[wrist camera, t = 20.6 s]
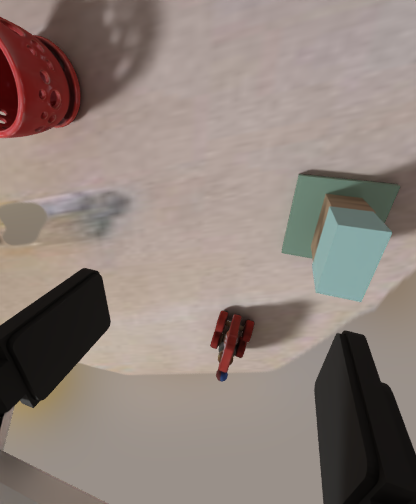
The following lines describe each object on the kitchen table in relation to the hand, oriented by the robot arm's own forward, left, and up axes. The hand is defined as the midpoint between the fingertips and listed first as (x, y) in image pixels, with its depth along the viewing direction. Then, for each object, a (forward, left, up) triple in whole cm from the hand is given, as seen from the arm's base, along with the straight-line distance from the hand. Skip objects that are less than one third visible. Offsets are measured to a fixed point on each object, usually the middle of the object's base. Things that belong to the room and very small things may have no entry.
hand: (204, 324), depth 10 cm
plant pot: (-10, -35, -31) cm, 48 cm away
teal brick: (+5, +10, -23) cm, 26 cm away
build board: (+5, +10, -30) cm, 32 cm away
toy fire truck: (+31, -2, -31) cm, 44 cm away
